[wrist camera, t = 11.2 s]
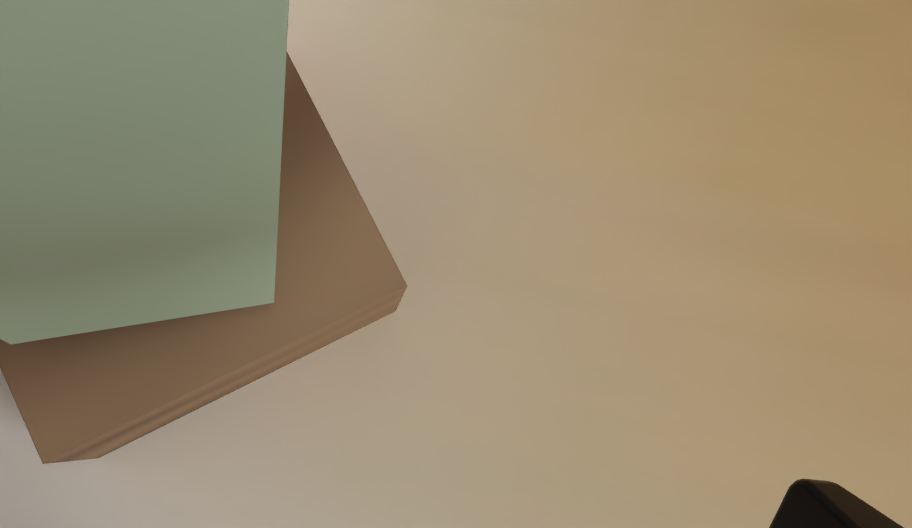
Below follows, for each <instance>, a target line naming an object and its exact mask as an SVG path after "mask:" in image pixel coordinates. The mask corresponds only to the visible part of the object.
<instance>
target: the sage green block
mask: <svg viewBox="0 0 912 528" xmlns="http://www.w3.org/2000/svg"><path fill="white" fill-rule="evenodd" d="M288 11H289V0H0V339H1V340H3V341H5V342H7V343H9V344H17V343H23V342H30V341H36V340H42V339H49V338H55V337H61V336H68V335H74V334H80V333H87V332H93V331H99V330H106V329H112V328H118V327H125V326H131V325H137V324H144V323H150V322H156V321H162V320H169V319H175V318H181V317H188V316H194V315H200V314H207V313H213V312H219V311H226V310H232V309H238V308H245V307H251V306H257V305H264V304H270V303H274V295H275V274H276V254H277V234H278V214H279V193H280V173H281V153H282V133H283V112H284V92H285V72H286V51H287V31H288Z"/></svg>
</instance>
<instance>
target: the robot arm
mask: <svg viewBox="0 0 912 528" xmlns="http://www.w3.org/2000/svg"><path fill="white" fill-rule="evenodd" d="M769 528H903V527H902V526H900V525H899V524H897V523H896V522H894V521H893V520H891V519H890V518H888V517H887V516H885V515H884V514H882V513H881V512H879V511H878V510H876V509H875V508H873V507H872V506H870V505H869V504H867V503H866V502H864V501H863V500H861V499H859V498H858V497H856V496H855V495H853V494H852V493H850V492H849V491H847V490H846V489H844V488H843V487H841V486H840V485H838V484H836V483H833V482H830V481H821V480H811V479H800V480H797V481H795V482H794V483H793V484H792V485H791V486H790V487H789V489H788V491H787V493H786V495H785V497H784V499H783V501H782V503H781V505H780V507H779V509H778V511H777V513H776V515H775V517H774V519H773V521H772V523H771V525H770V527H769Z"/></svg>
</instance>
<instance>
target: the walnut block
mask: <svg viewBox="0 0 912 528" xmlns="http://www.w3.org/2000/svg"><path fill="white" fill-rule="evenodd" d="M406 287H407V285H406V283H405V281H404V279H403V277H402V275H401V273H400V271H399V269H398V267H397V265H396V263H395V261H394V259H393V257H392V255H391V254H390V252H389V250H388V248H387V246H386V244H385V242H384V240H383V238H382V236H381V234H380V232H379V230H378V228H377V226H376V224H375V222H374V220H373V218H372V216H371V215H370V213H369V211H368V209H367V207H366V205H365V203H364V201H363V199H362V197H361V195H360V193H359V191H358V189H357V187H356V185H355V183H354V181H353V179H352V178H351V176H350V174H349V172H348V170H347V168H346V166H345V164H344V162H343V160H342V158H341V156H340V154H339V152H338V150H337V148H336V146H335V144H334V142H333V140H332V139H331V137H330V135H329V133H328V131H327V129H326V127H325V125H324V123H323V121H322V119H321V117H320V115H319V113H318V111H317V109H316V107H315V105H314V103H313V102H312V100H311V98H310V96H309V94H308V92H307V90H306V88H305V86H304V84H303V82H302V80H301V78H300V76H299V74H298V72H297V70H296V68H295V66H294V64H293V63H292V61H291V59H290V57H289V55H288V53H287V51H286V72H285V92H284V112H283V133H282V153H281V173H280V193H279V214H278V234H277V254H276V274H275V295H274V303H270V304H264V305H257V306H251V307H245V308H238V309H232V310H226V311H219V312H213V313H207V314H200V315H194V316H188V317H181V318H175V319H169V320H162V321H156V322H150V323H144V324H137V325H131V326H125V327H118V328H112V329H106V330H99V331H93V332H87V333H80V334H74V335H68V336H61V337H55V338H49V339H42V340H36V341H30V342H23V343H17V344H9V343H7V342H5V341H3V340H1V339H0V367H1V369H2V372H3V374H4V376H5V379H6V381H7V383H8V385H9V388H10V390H11V392H12V395H13V397H14V399H15V401H16V404H17V406H18V408H19V411H20V413H21V415H22V417H23V420H24V422H25V424H26V426H27V429H28V431H29V433H30V436H31V438H32V440H33V442H34V445H35V447H36V449H37V452H38V454H39V456H40V458H41V461H42V463H43V464H47V463H56V462H66V461H75V460H84V459H94V458H99V457H101V456H103V455H105V454H107V453H109V452H111V451H113V450H115V449H117V448H120V447H122V446H124V445H126V444H128V443H130V442H132V441H134V440H136V439H138V438H140V437H142V436H144V435H146V434H148V433H150V432H152V431H154V430H156V429H158V428H160V427H162V426H164V425H166V424H168V423H170V422H172V421H174V420H176V419H178V418H180V417H182V416H184V415H186V414H188V413H190V412H192V411H194V410H196V409H198V408H200V407H202V406H204V405H206V404H208V403H210V402H212V401H215V400H217V399H219V398H221V397H223V396H225V395H227V394H229V393H231V392H233V391H235V390H237V389H239V388H241V387H243V386H245V385H247V384H249V383H251V382H253V381H255V380H257V379H259V378H261V377H263V376H265V375H267V374H269V373H271V372H273V371H275V370H277V369H279V368H281V367H283V366H285V365H287V364H289V363H291V362H293V361H295V360H297V359H299V358H301V357H303V356H305V355H307V354H310V353H312V352H314V351H316V350H318V349H320V348H322V347H324V346H326V345H328V344H330V343H332V342H334V341H336V340H338V339H340V338H342V337H344V336H346V335H348V334H350V333H352V332H354V331H356V330H358V329H360V328H362V327H364V326H366V325H368V324H370V323H372V322H374V321H376V320H378V319H380V318H382V317H384V316H386V315H388V314H390V313H392V312H394V311H396V309H397V307H398V305H399V302H400V300H401V298H402V296H403V294H404V292H405V289H406Z"/></svg>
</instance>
